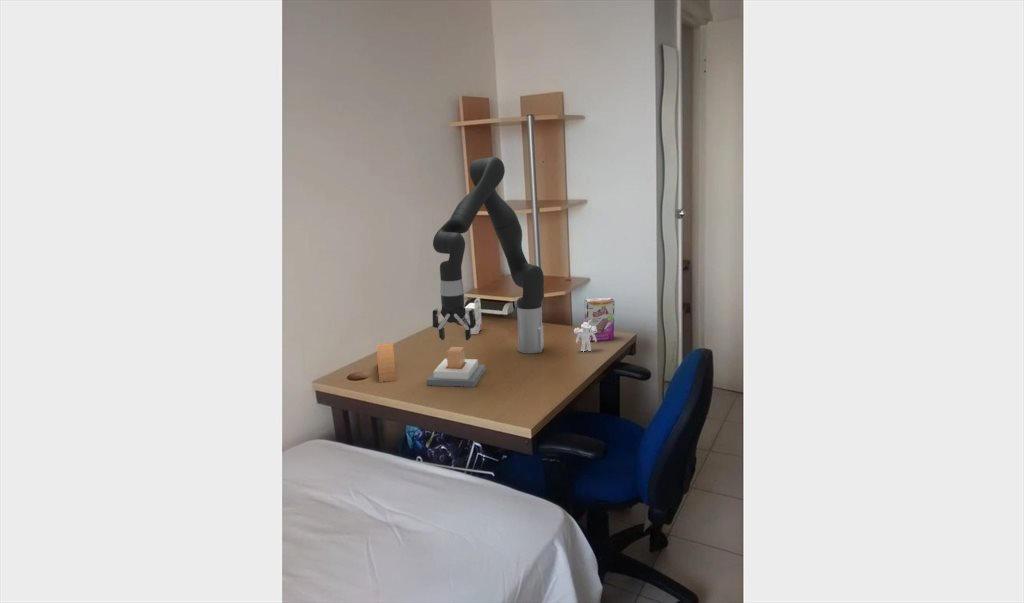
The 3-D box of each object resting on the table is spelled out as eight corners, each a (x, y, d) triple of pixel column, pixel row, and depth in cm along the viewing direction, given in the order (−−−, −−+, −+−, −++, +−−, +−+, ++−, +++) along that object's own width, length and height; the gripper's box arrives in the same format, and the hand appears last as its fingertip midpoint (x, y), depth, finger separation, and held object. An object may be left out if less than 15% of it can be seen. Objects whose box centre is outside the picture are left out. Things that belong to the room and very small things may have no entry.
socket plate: (485, 370, 223) (484, 358, 222) (473, 387, 208) (473, 374, 207) (441, 368, 227) (440, 356, 226) (426, 385, 211) (426, 372, 210)
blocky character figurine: (595, 348, 243) (595, 317, 241) (599, 351, 240) (598, 320, 237) (572, 350, 242) (572, 320, 239) (576, 353, 238) (575, 322, 235)
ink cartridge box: (470, 329, 275) (469, 295, 271) (482, 329, 274) (480, 295, 270) (465, 334, 267) (463, 300, 263) (477, 335, 266) (475, 300, 262)
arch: (395, 362, 236) (393, 336, 233) (396, 381, 217) (393, 353, 214) (379, 364, 235) (376, 338, 232) (378, 383, 215) (376, 354, 213)
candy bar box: (587, 342, 251) (586, 301, 247) (583, 338, 256) (583, 298, 252) (614, 340, 252) (614, 299, 249) (611, 336, 257) (611, 297, 253)
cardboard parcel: (465, 369, 219) (464, 347, 217) (460, 375, 214) (459, 352, 212) (452, 369, 220) (451, 346, 218) (448, 374, 215) (446, 352, 213)
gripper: (475, 290, 212) (478, 336, 216) (434, 289, 215) (438, 335, 219) (470, 295, 205) (473, 343, 209) (427, 295, 208) (431, 342, 212)
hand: (455, 339), depth 214 cm, fingers open, 8 cm apart
